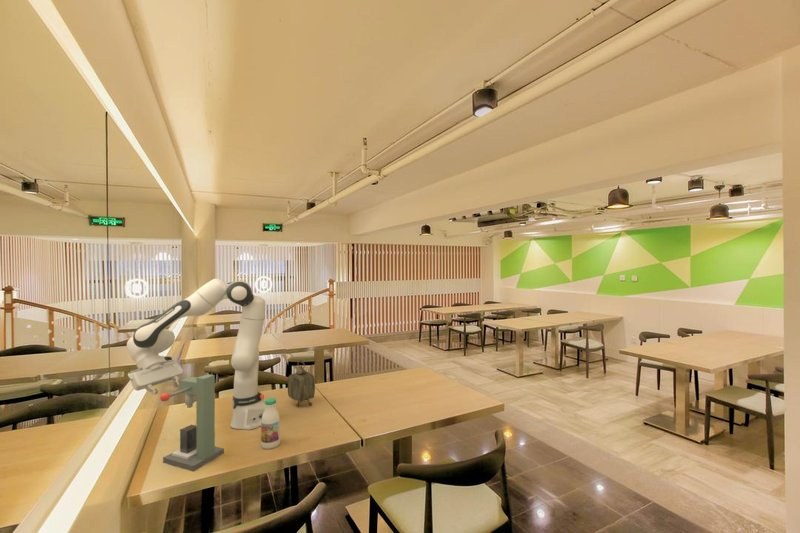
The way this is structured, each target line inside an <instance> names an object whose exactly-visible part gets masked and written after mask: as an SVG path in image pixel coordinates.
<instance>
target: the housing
mask: <svg viewBox="0 0 800 533" xmlns="http://www.w3.org/2000/svg"><path fill="white" fill-rule="evenodd" d="M179 449H180V452H183V453H186V454H187V453H189V452H191V451H193V450H195V449H197V425H196V424H190V425H188V426H185V427H183V428H181V429H180V430H179Z"/></svg>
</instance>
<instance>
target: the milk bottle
mask: <svg viewBox="0 0 800 533" xmlns="http://www.w3.org/2000/svg"><path fill="white" fill-rule="evenodd" d="M264 400H265V406H266V407H265V411H264V413H263V415H262V420H261V426H260V428H261V430H260V432H261V433H260V438H261V439H260V444H261V445H260V446H261V447H262V449H265V450H270V449H274V448H275V449H276V448H277V447H278V446H279V445H280V444H281V419H280V413H279V411H278V408H277V406H276V404H277V398H276V397H269V398H266V399H264Z"/></svg>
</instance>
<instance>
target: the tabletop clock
mask: <svg viewBox="0 0 800 533" xmlns="http://www.w3.org/2000/svg"><path fill="white" fill-rule="evenodd" d="M299 363H302V364H303V366H302V365H299ZM305 366H306V365H305V362H304V361H303V360H298V361H297V367H298V369H297V370H296V372H294V373H291V374H290V375H288V377H287V395H288V397H289V398H290V399H291V400H293V401H297V403H296V407H299V406H300V402H308V406H309V407H311V406H313V404H312V402H310V400H311V399H314V398H315V393H316V381H315V380H316V379H315V376H314V374H313V373H311V372H309V371H307V370H306V369H305Z"/></svg>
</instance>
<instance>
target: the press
mask: <svg viewBox="0 0 800 533" xmlns="http://www.w3.org/2000/svg"><path fill="white" fill-rule="evenodd" d="M215 376H216V375H215V374H203V375H202V376H197V377H196V376H188V377H186V378H182V379H180V380H179V390H178V391H173V392H172V393H168V392H163V393H162V394H161V395H160V397H159V398H160V401H161V402H167V401H169V400H170V398H172V397H175V396H178V395H181V394H185V395H184V396H185V397H184V398H185V400H184V401H185V402H184V404H185V405H186V407H187V408H193V405H194V404H195V399H196V405H195V406H196V407H195V409H196V426H197V449H195V450H193V451H191V452H189V453H187V454H186V453H183V452H180V448H179V449H177V450H175V451H173V452H172V453H169V454H167V455H165V456H164V457H162V463H164V464H167V465H171V466H174V467H177V468H181V469H184V470H186V471H189V472H194V471H196V470H198V469H199V468H202V467H203V466H205V465H207V464H208V463H210V462H211V461H213V460H216V459H217V458H218V457H220V456H221V455H224V453H225V448H224V447H221V446H216V440H215V438H216V437H215V436H216V430H215V429H216V428H215V427H216V425H215V424H216V422H215V421H216V419H215V418H216V417H215V414H216V413H215V412H216V411H215V409H216V408H215V407H216V406H215V403H216V401H215V396H216V395H215V394H216V393H215V390H216V389H215V388H216V387H215V385H216V384H215V383H216V382H215V381H216V380H215ZM195 396H196V398H195Z"/></svg>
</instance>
